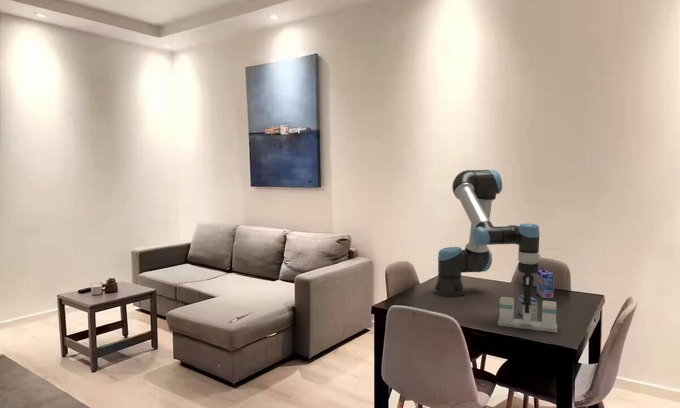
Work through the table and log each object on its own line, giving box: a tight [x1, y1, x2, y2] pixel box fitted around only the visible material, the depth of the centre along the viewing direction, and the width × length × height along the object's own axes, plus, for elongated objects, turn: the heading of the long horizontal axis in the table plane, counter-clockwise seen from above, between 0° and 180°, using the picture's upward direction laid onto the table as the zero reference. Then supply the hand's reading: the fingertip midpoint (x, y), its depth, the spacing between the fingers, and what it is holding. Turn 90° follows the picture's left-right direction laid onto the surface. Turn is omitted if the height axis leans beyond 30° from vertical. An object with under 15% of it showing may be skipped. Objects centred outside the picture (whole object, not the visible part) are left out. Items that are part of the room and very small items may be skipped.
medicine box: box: [517, 294, 539, 321], centre depth 188 cm, size 8×4×9 cm, turn 5°
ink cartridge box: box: [536, 266, 555, 299], centre depth 233 cm, size 10×6×14 cm, turn 174°
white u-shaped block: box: [497, 296, 558, 334], centre depth 188 cm, size 22×8×10 cm, turn 66°
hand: (527, 317), depth 188 cm, fingers closed on medicine box, 9 cm apart
